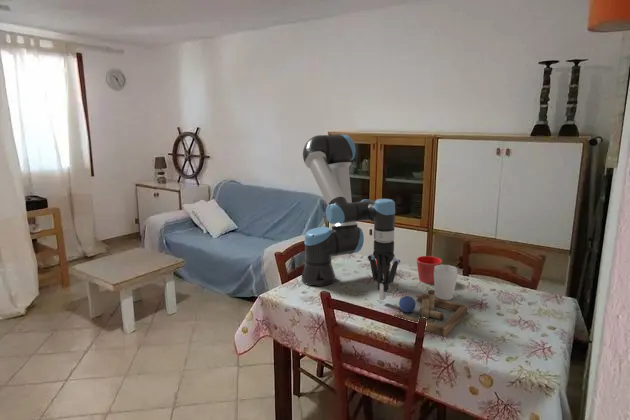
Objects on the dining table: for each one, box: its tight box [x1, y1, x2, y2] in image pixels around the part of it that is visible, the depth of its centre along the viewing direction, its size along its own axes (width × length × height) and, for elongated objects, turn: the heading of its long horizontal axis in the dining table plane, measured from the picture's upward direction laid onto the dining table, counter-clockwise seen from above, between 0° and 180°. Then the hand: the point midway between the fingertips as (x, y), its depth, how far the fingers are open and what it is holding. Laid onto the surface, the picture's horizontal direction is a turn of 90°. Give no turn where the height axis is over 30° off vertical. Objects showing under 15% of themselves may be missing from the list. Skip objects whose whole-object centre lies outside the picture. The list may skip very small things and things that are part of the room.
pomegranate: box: [375, 259, 392, 274], centre depth 196 cm, size 7×7×10 cm
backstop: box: [392, 293, 468, 338], centre depth 151 cm, size 19×22×2 cm
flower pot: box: [416, 255, 443, 284], centre depth 184 cm, size 11×11×10 cm
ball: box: [398, 295, 417, 314], centre depth 155 cm, size 6×6×6 cm
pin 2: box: [427, 289, 436, 311], centre depth 153 cm, size 2×2×9 cm
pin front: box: [418, 306, 445, 321], centre depth 151 cm, size 2×2×9 cm
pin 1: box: [421, 293, 429, 321], centre depth 149 cm, size 2×2×9 cm
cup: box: [433, 264, 458, 301], centre depth 167 cm, size 9×9×12 cm
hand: (382, 298), depth 162 cm, fingers closed
